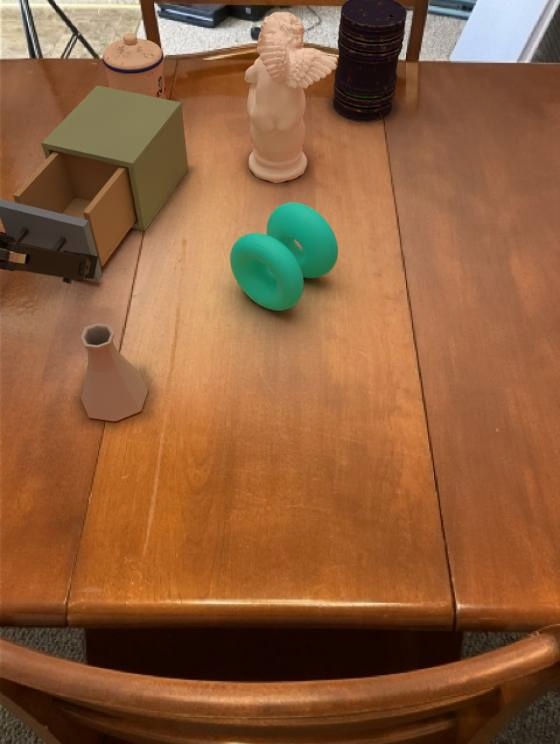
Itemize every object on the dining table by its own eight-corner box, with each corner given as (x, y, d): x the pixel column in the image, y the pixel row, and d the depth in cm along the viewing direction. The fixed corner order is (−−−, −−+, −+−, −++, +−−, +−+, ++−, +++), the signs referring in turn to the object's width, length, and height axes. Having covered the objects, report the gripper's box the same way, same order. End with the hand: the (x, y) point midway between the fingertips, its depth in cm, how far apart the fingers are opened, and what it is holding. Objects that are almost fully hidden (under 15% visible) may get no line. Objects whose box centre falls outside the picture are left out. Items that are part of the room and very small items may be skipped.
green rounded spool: (226, 291, 84) (222, 228, 76) (276, 248, 89) (277, 185, 81) (291, 328, 80) (294, 266, 72) (339, 282, 85) (346, 218, 77)
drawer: (80, 307, 81) (63, 251, 74) (-3, 285, 83) (-28, 228, 76) (146, 216, 91) (136, 159, 84) (70, 198, 93) (55, 141, 86)
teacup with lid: (171, 121, 107) (162, 48, 98) (112, 126, 106) (98, 52, 97) (166, 82, 114) (157, 10, 105) (111, 86, 113) (97, 14, 104)
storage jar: (320, 108, 110) (327, 13, 98) (351, 83, 115) (361, -11, 103) (373, 129, 107) (387, 33, 95) (403, 102, 112) (420, 7, 100)
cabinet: (145, 231, 91) (132, 163, 82) (61, 211, 93) (41, 142, 85) (188, 169, 99) (181, 102, 91) (110, 152, 102) (96, 85, 93)
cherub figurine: (267, 138, 104) (268, -14, 87) (342, 160, 101) (358, 6, 84) (230, 181, 98) (223, 26, 80) (309, 206, 95) (319, 49, 77)
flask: (150, 418, 72) (136, 358, 64) (80, 427, 71) (57, 368, 63) (147, 366, 76) (133, 304, 69) (81, 373, 76) (60, 311, 68)
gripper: (-203, 247, 63) (-44, 263, 84) (23, 309, 58) (131, 309, 80) (-192, 165, 62) (-33, 202, 83) (39, 223, 57) (144, 246, 78)
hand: (47, 255), depth 81 cm, fingers closed on drawer, 11 cm apart
